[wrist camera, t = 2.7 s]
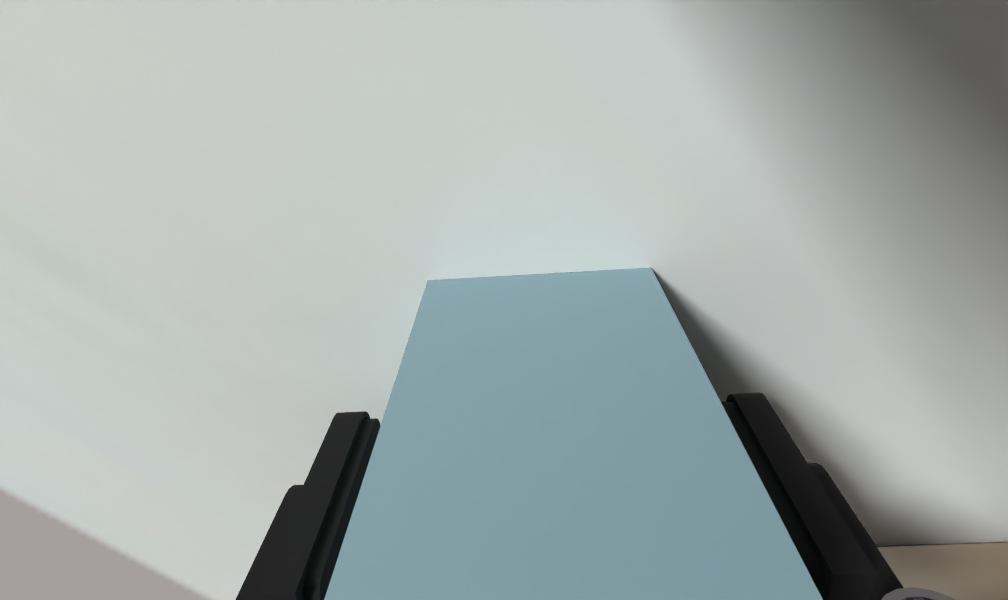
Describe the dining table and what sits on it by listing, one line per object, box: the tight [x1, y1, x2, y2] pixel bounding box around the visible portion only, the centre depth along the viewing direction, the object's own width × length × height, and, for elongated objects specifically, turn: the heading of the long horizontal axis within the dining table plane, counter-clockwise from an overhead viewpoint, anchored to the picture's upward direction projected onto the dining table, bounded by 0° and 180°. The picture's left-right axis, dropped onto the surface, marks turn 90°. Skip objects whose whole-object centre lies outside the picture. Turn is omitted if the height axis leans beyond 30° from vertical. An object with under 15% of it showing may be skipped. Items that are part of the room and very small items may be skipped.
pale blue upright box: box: [324, 268, 823, 600], centre depth 9 cm, size 4×7×7 cm, turn 4°
